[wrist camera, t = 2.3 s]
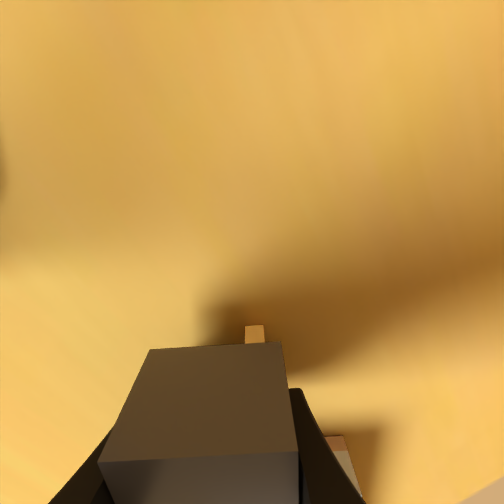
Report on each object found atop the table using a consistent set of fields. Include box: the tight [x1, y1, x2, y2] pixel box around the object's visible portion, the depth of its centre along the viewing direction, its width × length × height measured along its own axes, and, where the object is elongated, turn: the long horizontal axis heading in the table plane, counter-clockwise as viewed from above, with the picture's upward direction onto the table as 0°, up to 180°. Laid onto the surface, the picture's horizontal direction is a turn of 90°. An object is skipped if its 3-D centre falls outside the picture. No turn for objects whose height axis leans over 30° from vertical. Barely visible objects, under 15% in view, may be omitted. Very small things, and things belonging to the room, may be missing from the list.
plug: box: [97, 325, 299, 504], centre depth 10 cm, size 5×5×6 cm
